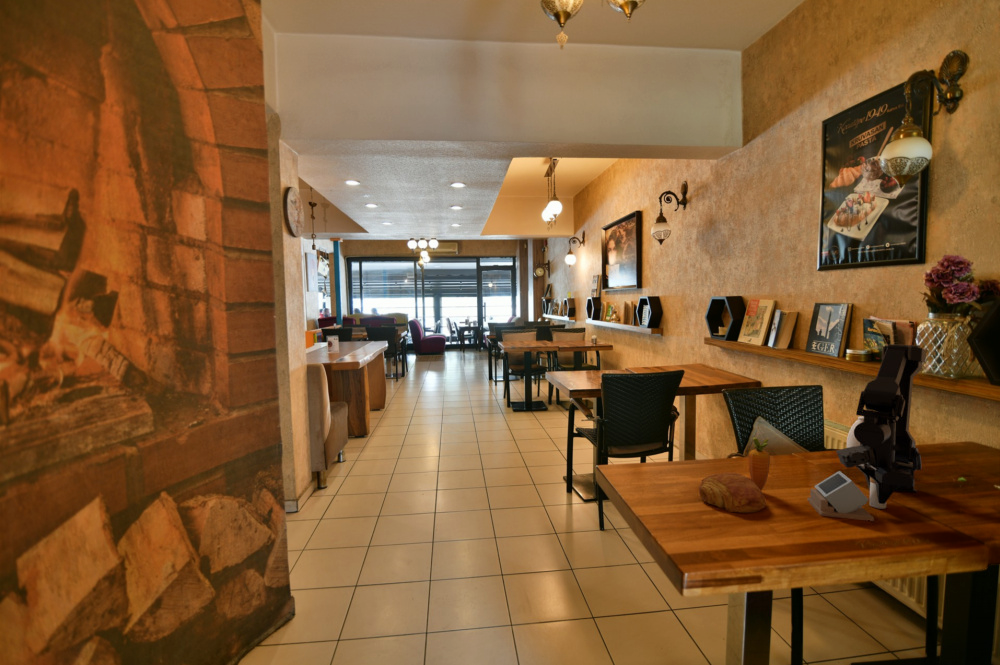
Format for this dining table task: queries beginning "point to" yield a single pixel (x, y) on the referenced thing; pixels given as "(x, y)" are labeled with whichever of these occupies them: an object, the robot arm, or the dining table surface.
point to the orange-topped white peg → (874, 496)
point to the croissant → (732, 493)
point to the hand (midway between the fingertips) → (877, 500)
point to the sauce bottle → (851, 438)
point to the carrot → (759, 463)
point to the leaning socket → (839, 498)
